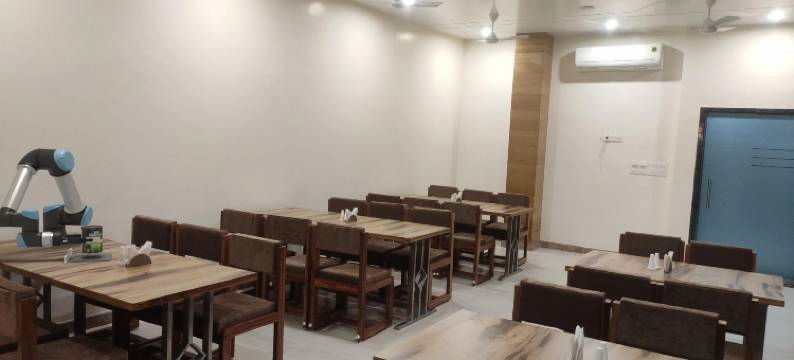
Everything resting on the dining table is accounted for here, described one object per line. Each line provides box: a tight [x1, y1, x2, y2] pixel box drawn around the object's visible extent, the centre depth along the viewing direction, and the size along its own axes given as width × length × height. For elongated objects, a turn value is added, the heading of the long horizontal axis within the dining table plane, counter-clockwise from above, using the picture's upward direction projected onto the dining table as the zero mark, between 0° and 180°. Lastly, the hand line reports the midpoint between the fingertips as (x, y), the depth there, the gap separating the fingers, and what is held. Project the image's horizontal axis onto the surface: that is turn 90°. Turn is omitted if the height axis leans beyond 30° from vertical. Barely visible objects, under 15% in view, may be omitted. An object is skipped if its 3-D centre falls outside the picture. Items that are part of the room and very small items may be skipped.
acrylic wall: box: [63, 247, 73, 265], centre depth 303 cm, size 24×1×4 cm, turn 23°
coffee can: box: [80, 224, 104, 255], centre depth 306 cm, size 10×10×14 cm
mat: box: [70, 252, 113, 263], centre depth 307 cm, size 18×18×1 cm
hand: (100, 237), depth 308 cm, fingers closed on coffee can, 10 cm apart
